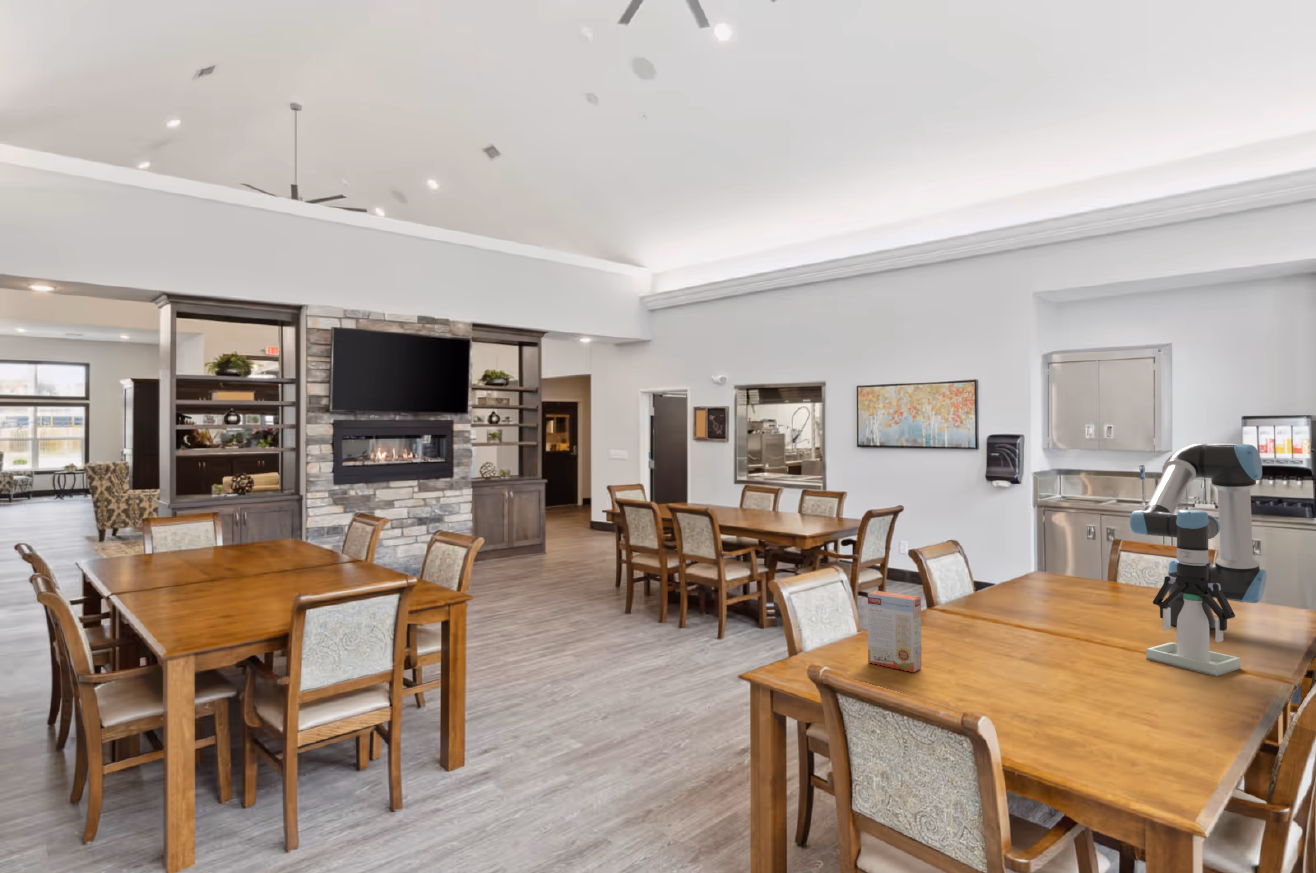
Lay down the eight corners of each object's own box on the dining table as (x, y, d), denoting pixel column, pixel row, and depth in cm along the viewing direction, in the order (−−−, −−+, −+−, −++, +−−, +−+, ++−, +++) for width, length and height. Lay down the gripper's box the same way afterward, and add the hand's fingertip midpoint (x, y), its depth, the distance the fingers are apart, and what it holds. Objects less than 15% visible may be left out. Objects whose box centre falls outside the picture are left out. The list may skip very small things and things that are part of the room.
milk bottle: (1215, 666, 206) (1215, 596, 205) (1185, 664, 207) (1184, 595, 207) (1200, 658, 213) (1200, 591, 213) (1171, 656, 215) (1171, 590, 215)
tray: (1171, 651, 222) (1171, 642, 222) (1240, 668, 206) (1240, 657, 206) (1146, 658, 215) (1146, 648, 215) (1216, 676, 199) (1216, 665, 199)
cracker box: (922, 668, 206) (922, 596, 206) (913, 673, 202) (913, 599, 202) (876, 658, 216) (876, 589, 216) (867, 663, 211) (867, 592, 211)
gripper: (1139, 557, 219) (1139, 627, 219) (1236, 571, 197) (1236, 648, 198) (1153, 555, 223) (1153, 623, 223) (1249, 568, 201) (1249, 644, 201)
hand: (1192, 635), depth 210 cm, fingers open, 13 cm apart
